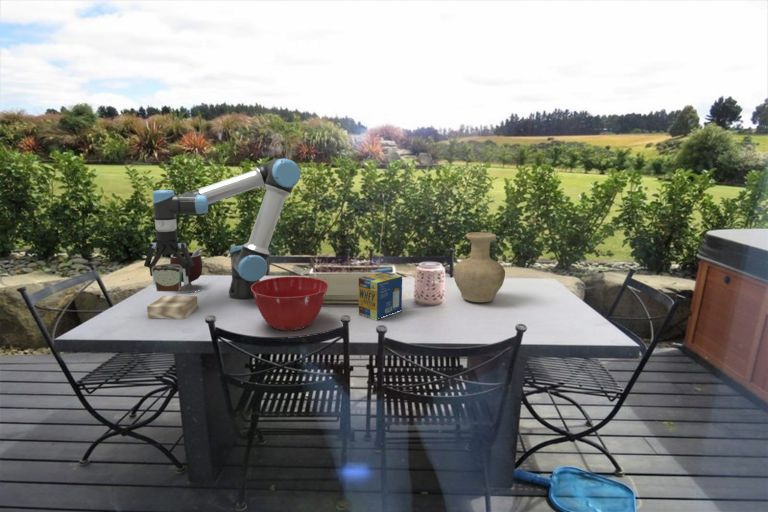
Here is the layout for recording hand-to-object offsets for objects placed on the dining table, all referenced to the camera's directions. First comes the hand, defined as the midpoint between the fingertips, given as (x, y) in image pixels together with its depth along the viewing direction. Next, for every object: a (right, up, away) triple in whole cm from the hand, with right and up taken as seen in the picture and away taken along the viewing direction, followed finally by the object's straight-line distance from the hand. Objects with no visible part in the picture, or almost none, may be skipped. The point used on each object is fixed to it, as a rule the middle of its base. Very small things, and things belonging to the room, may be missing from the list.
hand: (171, 283), depth 181 cm
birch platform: (0, -12, +3) cm, 12 cm away
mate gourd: (-8, -5, +36) cm, 37 cm away
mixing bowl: (+50, -15, -9) cm, 53 cm away
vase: (+128, -9, +23) cm, 130 cm away
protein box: (+84, -13, +4) cm, 85 cm away
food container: (0, -3, +1) cm, 3 cm away
